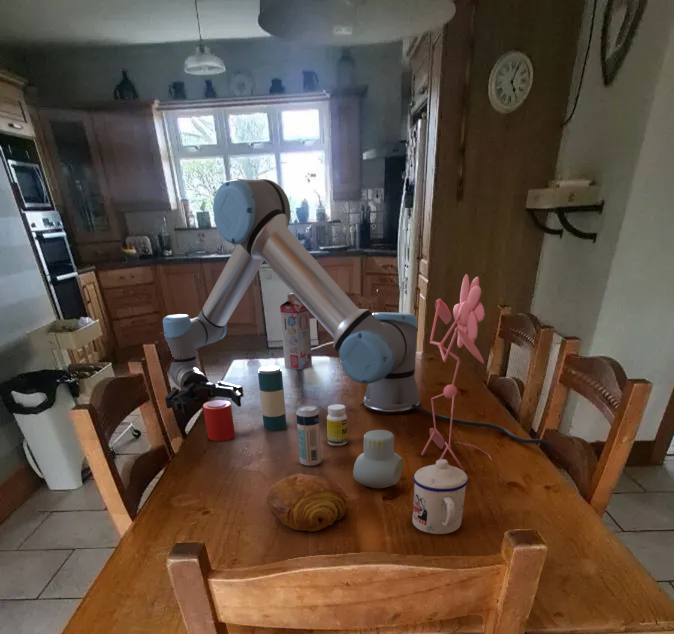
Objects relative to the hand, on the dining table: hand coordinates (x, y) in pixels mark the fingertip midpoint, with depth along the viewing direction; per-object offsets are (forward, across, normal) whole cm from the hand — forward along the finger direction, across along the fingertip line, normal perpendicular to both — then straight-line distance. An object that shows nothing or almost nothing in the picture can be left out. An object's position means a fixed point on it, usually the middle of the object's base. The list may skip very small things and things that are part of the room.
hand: (212, 405), depth 135 cm
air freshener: (+47, -22, -6) cm, 52 cm away
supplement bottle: (+23, -23, -6) cm, 33 cm away
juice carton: (-48, -41, -6) cm, 63 cm away
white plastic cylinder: (+31, -13, -6) cm, 34 cm away
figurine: (+46, -42, -6) cm, 62 cm away
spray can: (+5, -14, -6) cm, 16 cm away
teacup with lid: (+68, -22, -6) cm, 72 cm away
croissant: (+53, -4, -6) cm, 54 cm away
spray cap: (+5, 0, -6) cm, 8 cm away
